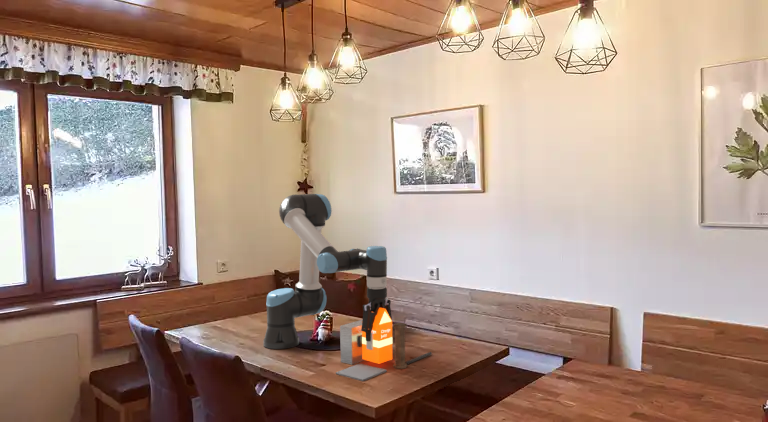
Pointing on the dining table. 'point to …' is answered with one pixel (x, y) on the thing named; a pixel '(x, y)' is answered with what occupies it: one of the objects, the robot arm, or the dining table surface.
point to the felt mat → (361, 372)
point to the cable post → (400, 345)
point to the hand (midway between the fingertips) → (377, 346)
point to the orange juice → (379, 339)
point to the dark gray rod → (418, 358)
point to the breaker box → (351, 342)
